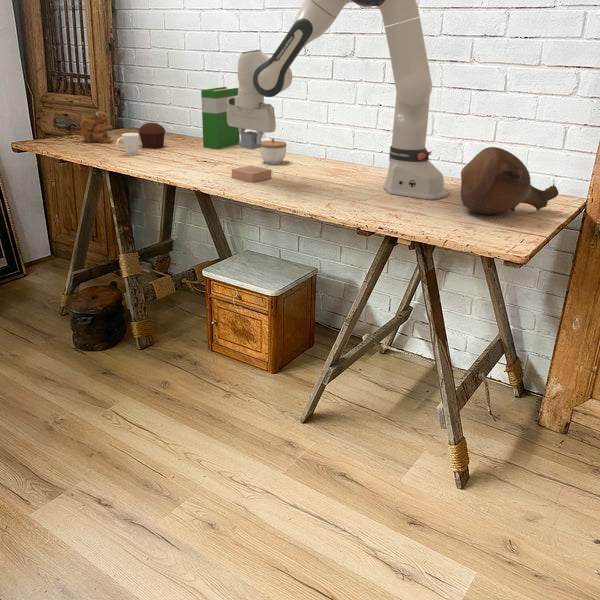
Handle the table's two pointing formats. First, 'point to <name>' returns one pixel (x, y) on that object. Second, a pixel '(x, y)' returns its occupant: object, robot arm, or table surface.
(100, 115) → the stuffed squirrel
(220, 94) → the hardback book
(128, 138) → the cup
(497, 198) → the brown bulbous piece
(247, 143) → the cube
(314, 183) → the table surface
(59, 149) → the table surface
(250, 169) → the pedestal
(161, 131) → the muffin
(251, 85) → the robot arm
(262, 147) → the lidded jar
